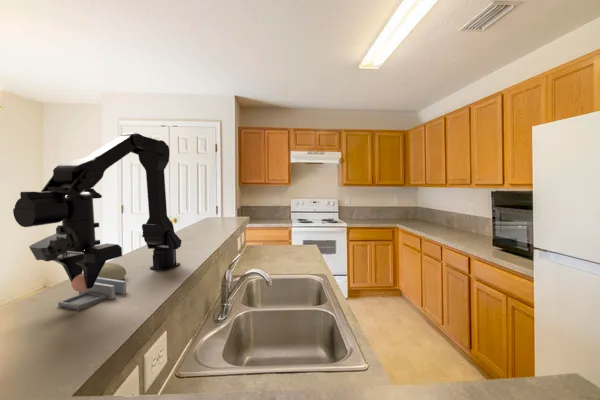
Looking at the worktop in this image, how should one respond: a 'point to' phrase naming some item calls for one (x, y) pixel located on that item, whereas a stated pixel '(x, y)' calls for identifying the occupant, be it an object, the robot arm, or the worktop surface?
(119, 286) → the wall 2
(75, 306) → the coaster
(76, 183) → the robot arm
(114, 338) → the worktop surface
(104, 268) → the sea urchin shell
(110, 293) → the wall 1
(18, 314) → the worktop surface
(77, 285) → the ball
